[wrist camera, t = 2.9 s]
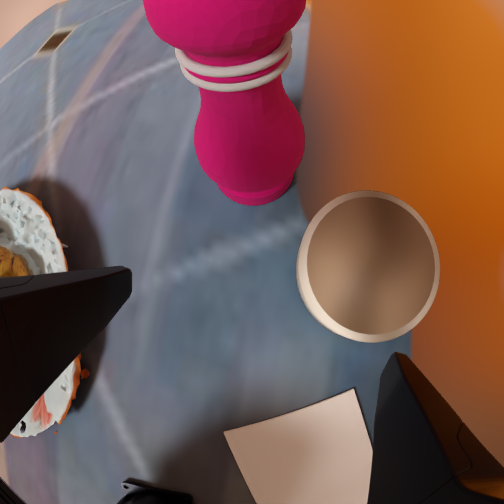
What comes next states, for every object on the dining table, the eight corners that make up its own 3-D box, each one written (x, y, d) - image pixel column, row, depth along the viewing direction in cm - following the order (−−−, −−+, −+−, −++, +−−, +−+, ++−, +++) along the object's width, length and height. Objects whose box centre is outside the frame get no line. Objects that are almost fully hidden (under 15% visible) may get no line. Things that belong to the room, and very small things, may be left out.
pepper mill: (240, 119, 25) (193, -106, 5) (316, 155, 23) (361, -97, 4) (191, 185, 24) (52, -39, 4) (270, 229, 22) (243, -67, 3)
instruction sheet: (280, 546, 17) (280, 548, 17) (223, 431, 20) (223, 432, 20) (388, 512, 17) (389, 513, 17) (353, 388, 20) (353, 389, 20)
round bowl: (295, 341, 21) (299, 346, 18) (294, 204, 23) (296, 188, 20) (423, 333, 20) (442, 335, 17) (415, 207, 22) (431, 193, 19)
